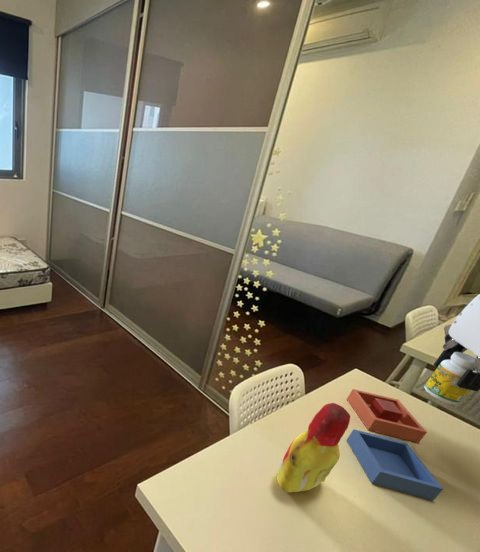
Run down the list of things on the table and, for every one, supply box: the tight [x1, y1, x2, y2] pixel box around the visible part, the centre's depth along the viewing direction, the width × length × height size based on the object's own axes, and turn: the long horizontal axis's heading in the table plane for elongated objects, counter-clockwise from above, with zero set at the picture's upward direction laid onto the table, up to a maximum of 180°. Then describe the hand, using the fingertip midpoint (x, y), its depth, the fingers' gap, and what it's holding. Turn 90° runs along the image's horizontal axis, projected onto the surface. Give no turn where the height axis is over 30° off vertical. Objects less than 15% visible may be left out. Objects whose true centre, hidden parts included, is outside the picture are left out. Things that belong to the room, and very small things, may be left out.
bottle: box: [276, 402, 351, 493], centre depth 59 cm, size 12×6×20 cm, turn 112°
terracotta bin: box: [346, 388, 428, 444], centre depth 80 cm, size 11×11×4 cm
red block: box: [369, 398, 403, 423], centre depth 80 cm, size 4×4×4 cm
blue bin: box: [346, 428, 444, 502], centre depth 68 cm, size 11×11×4 cm
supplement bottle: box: [423, 352, 476, 405], centre depth 64 cm, size 5×5×10 cm
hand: (454, 377), depth 64 cm, fingers closed on supplement bottle, 5 cm apart
